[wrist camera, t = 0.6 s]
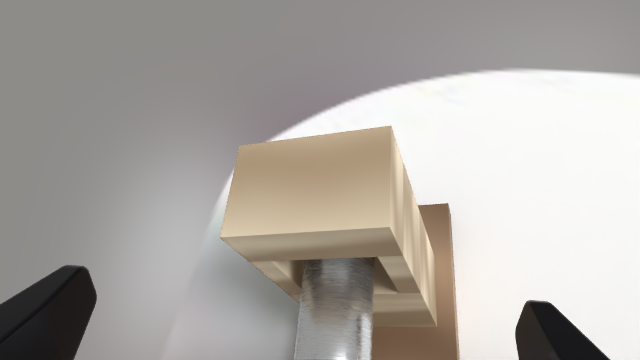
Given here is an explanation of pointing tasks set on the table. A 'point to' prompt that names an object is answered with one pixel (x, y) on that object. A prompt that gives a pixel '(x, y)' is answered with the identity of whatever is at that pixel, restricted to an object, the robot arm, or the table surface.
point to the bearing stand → (350, 231)
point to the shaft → (336, 310)
